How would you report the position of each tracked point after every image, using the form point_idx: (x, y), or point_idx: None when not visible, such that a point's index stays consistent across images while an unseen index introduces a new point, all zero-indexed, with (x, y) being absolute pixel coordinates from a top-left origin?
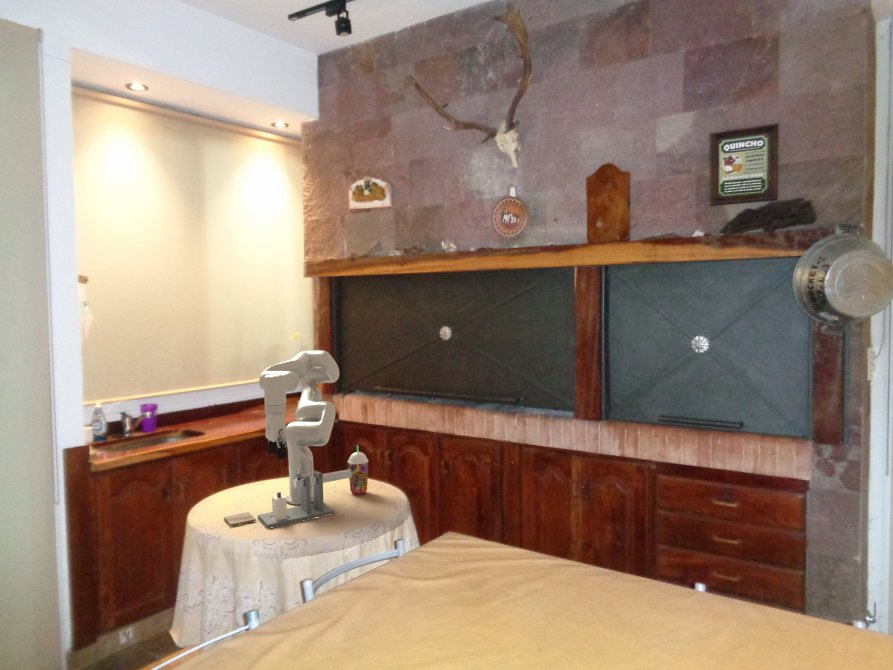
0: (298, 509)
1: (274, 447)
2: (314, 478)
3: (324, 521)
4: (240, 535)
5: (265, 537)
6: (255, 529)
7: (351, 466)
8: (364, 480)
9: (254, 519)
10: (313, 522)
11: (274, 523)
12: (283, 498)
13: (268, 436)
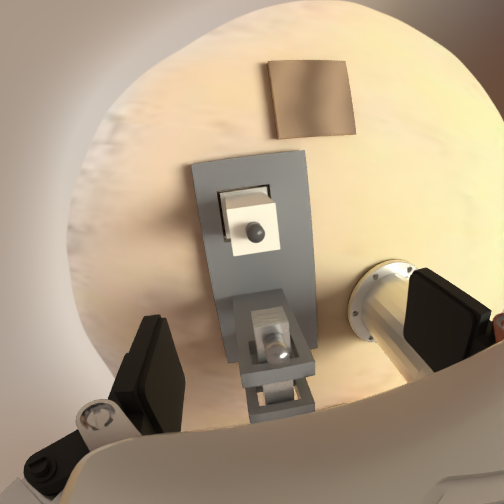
0: (288, 280)
1: (429, 340)
2: (263, 391)
3: (183, 325)
4: (178, 81)
5: (125, 149)
6: (207, 127)
7: None
8: None
9: (278, 134)
10: (187, 298)
11: (194, 186)
12: (232, 243)
13: (454, 424)
